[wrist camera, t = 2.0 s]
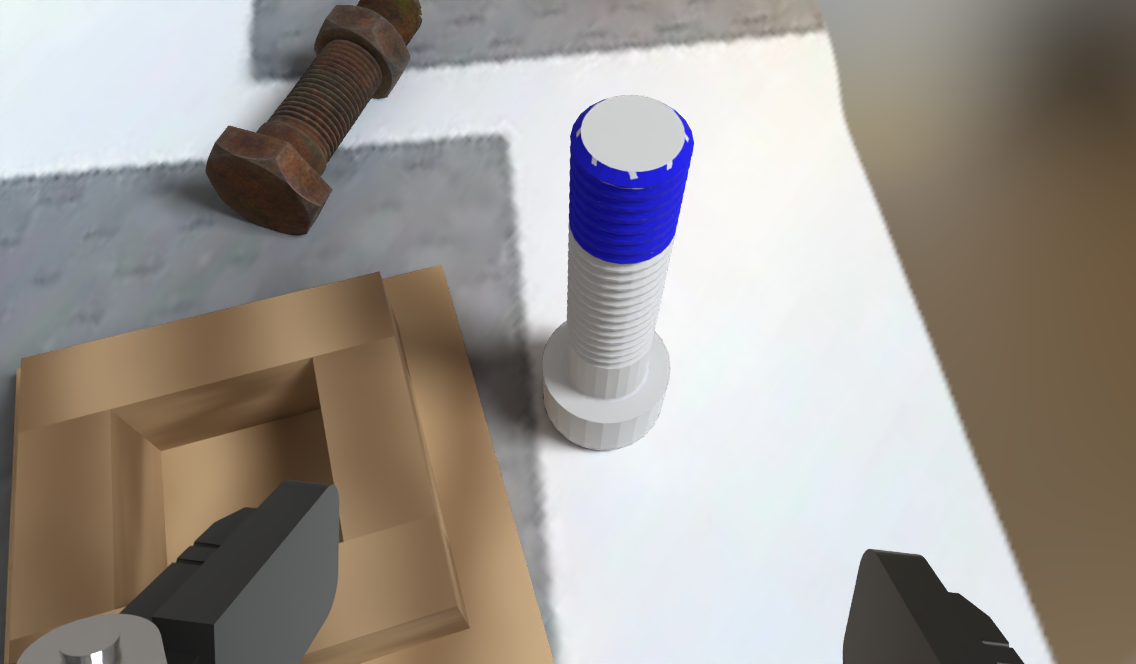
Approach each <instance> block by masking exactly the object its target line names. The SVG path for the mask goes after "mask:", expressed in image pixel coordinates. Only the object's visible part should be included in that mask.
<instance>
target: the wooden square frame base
mask: <svg viewBox="0 0 1136 664" xmlns="http://www.w3.org/2000/svg"><path fill="white" fill-rule="evenodd" d="M285 480H297V481H305V482H314V483H323V484H331V485H335V486H336V487H337V490H338V493H339V556H338V583H337V589H336V594H335V598H334V602H333V605H332V608H331V610H330V613H329V615H328V617H327V619H326V621H325V622H324V624H323V625H322V627H321V629H320V630H319V632H318V634H317V635H316V637H315V638H314V640H313V642H312V643H311V645H310V647H309V648H308V650H307V652H306V653H305V655H304V656H303V658H302V660H301V661H300V663H299V664H554V660H553V657H552V653H551V650H550V646H549V643H548V639H547V636H546V632H545V629H544V625H543V621H542V618H541V614H540V611H539V607H538V604H537V600H536V597H535V593H534V590H533V586H532V582H531V579H530V575H529V572H528V568H527V565H526V561H525V558H524V554H523V551H522V547H521V543H520V540H519V536H518V533H517V529H516V526H515V522H514V519H513V515H512V512H511V508H510V504H509V501H508V497H507V494H506V490H505V487H504V483H503V480H502V476H501V473H500V469H499V466H498V462H497V458H496V455H495V451H494V448H493V444H492V441H491V437H490V434H489V430H488V427H487V423H486V419H485V416H484V412H483V409H482V405H481V402H480V398H479V395H478V391H477V388H476V384H475V380H474V377H473V373H472V370H471V366H470V363H469V359H468V356H467V352H466V349H465V345H464V341H463V338H462V334H461V331H460V327H459V324H458V320H457V317H456V313H455V310H454V306H453V303H452V299H451V295H450V292H449V288H448V285H447V281H446V278H445V274H444V271H443V267H442V265H438V266H434V267H430V268H426V269H422V270H418V271H414V272H410V273H406V274H401V275H397V276H393V277H389V278H385V279H382V278H381V275H380V272H375V273H371V274H367V275H363V276H359V277H355V278H351V279H347V280H342V281H338V282H334V283H330V284H326V285H322V286H318V287H314V288H310V289H305V290H301V291H297V292H293V293H289V294H285V295H281V296H277V297H273V298H269V299H264V300H260V301H256V302H252V303H248V304H244V305H240V306H236V307H232V308H227V309H223V310H219V311H215V312H211V313H207V314H203V315H199V316H195V317H190V318H186V319H182V320H178V321H174V322H170V323H166V324H162V325H158V326H153V327H149V328H145V329H141V330H137V331H133V332H129V333H125V334H121V335H116V336H112V337H108V338H104V339H100V340H96V341H92V342H88V343H84V344H79V345H75V346H71V347H67V348H63V349H59V350H55V351H51V352H47V353H42V354H38V355H34V356H30V357H26V358H22V359H21V368H18V369H17V375H16V398H15V420H14V443H13V466H12V489H11V511H10V534H9V557H8V579H7V602H6V625H5V648H4V664H13V663H17V662H18V660H19V658H20V656H21V655H22V654H23V652H24V651H25V650H26V649H27V648H28V647H29V646H30V645H31V644H32V643H33V642H35V641H36V640H38V639H39V638H40V637H42V636H43V635H45V634H47V633H49V632H50V631H52V630H54V629H56V628H58V627H61V626H63V625H65V624H68V623H71V622H73V621H76V620H80V619H84V618H87V617H92V616H98V615H106V614H119V613H120V612H121V611H122V610H123V609H124V608H125V607H126V606H127V605H128V604H129V603H130V602H131V601H133V600H134V599H135V598H136V597H137V596H138V595H139V594H140V593H141V592H142V591H143V590H144V589H145V588H146V587H147V586H148V585H149V584H150V583H151V582H152V581H153V580H154V579H156V578H157V577H158V576H159V575H160V574H161V573H162V572H163V571H164V570H165V569H166V568H167V567H168V566H169V565H170V564H171V563H172V562H174V563H176V561H177V557H179V556H180V555H181V554H182V553H183V552H184V551H185V550H186V549H187V548H188V547H189V546H193V544H194V541H195V540H196V539H197V538H198V537H199V536H200V535H202V534H203V533H204V532H205V531H206V530H207V529H208V528H209V527H210V526H211V525H212V524H213V523H214V522H216V521H218V520H220V519H222V518H224V517H226V516H228V515H230V514H232V513H234V512H236V511H238V510H240V509H242V508H244V507H250V508H258V507H259V506H260V505H261V503H262V502H263V501H264V500H265V499H266V498H267V497H268V496H269V495H270V494H271V493H272V492H273V491H274V490H275V489H276V488H277V487H278V486H279V485H280V484H281V483H282V482H283V481H285Z"/></svg>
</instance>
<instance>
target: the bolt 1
mask: <svg viewBox="0 0 1136 664" xmlns="http://www.w3.org/2000/svg"><path fill="white" fill-rule="evenodd" d="M420 9H421V6H420V3H419V1H418V0H360V1H359V3H358V5H357V6H353V5H336V6H335V7H334V9H333V10H332V11H331V12H330V14H329V15H328V16H327V17H326V19H325V21H324V23H323V25H322V27H321V29H320V31H319V34H318V36H317V39H316V42H315V47H314V50H315V52H316V54H317V57H316V59H315V60H314V61H313V63H312V64H311V65H310V67H309V68H308V69H307V71H306V72H305V73H304V74H303V76H302V77H301V78H300V80H299V81H298V82H297V84H296V85H295V87H294V88H293V89H292V91H291V92H290V93H289V95H288V96H287V97H286V99H285V100H284V101H283V102H282V103H281V105H280V106H279V107H278V108H277V110H276V111H275V113H274V114H273V115H272V116H271V117H270V119H269V120H268V121H267V123H264V124H263V125H262V126H261V127H260V128H259V130H258V131H257V132H256V133H255V132H251V131H248V130H244V129H240V128H237V127H233V126H228V127H227V128H226V129H225V131H224V132H223V133H222V135H221V136H220V137H219V138H218V140H217V141H216V142H215V144H214V146H213V148H212V151H211V153H210V155H209V158H208V161H207V165H206V174H207V176H208V178H209V180H210V182H211V183H212V185H213V187H214V189H215V190H216V192H217V193H218V195H219V196H220V198H221V199H222V200H223V201H224V202H225V203H226V204H227V205H229V206H230V207H231V208H232V209H234V210H235V211H237V212H238V213H240V214H241V215H243V216H245V217H246V218H248V219H249V220H251V221H253V222H255V223H256V224H258V225H260V226H262V227H264V228H268V229H271V230H274V231H277V232H281V233H286V234H307V232H308V231H309V229H310V228H311V226H312V225H313V223H314V222H315V220H316V219H317V217H318V215H319V213H320V212H321V210H322V208H323V206H324V204H325V202H326V200H327V199H328V197H329V195H330V193H331V191H332V189H331V187H330V186H329V185H328V184H327V183H326V182H325V181H324V180H323V179H322V178H321V175H322V174H323V172H324V171H325V168H326V164H327V162H329V160H330V158H331V157H332V155H333V153H334V152H335V151H336V149H337V148H338V146H339V145H340V143H341V142H342V141H343V139H344V137H345V136H346V134H347V133H348V132H349V130H350V129H351V127H352V126H353V125H354V123H355V121H356V120H357V118H358V117H359V116H360V114H361V112H362V111H363V109H364V108H365V107H366V105H367V103H368V102H369V101H370V99H371V98H385V97H388V95H389V94H390V92H391V91H392V89H393V88H394V86H395V85H396V83H397V81H398V80H399V78H400V76H401V75H402V73H403V71H404V69H405V67H406V66H407V64H408V62H409V60H410V55H409V52H408V50H407V47H406V46H407V44H408V43H409V42H410V40H411V39H412V37H413V35H414V34H415V33H416V32H417V30H418V29H419V27H420V26H421V23H422V19H421V17H420V16H419V15H422V13H421V10H420Z"/></svg>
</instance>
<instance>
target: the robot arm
mask: <svg viewBox="0 0 1136 664" xmlns="http://www.w3.org/2000/svg"><path fill="white" fill-rule="evenodd" d="M338 556H339V493H338V490H337V487H336V486H335V485H331V484H323V483H314V482H305V481H297V480H285V481H283V482H282V483H281V484H280V485H279V486H278V487H277V488H276V489H275V490H274V491H273V492H272V493H271V494H270V495H269V496H268V497H267V498H266V499H265V500H264V501H263V502H262V503H261V505H260V506H259V507H258V508H250V507H244V508H242V509H240V510H238V511H236V512H234V513H232V514H230V515H228V516H226V517H224V518H222V519H220V520H218V521H216V522H214V523H213V524H212V525H211V526H210V527H209V528H208V529H207V530H206V531H205V532H204V533H203V534H202V535H200V536H199V537H198V538H197V539H196V540H195V541H194V544H193V546H189V547H188V548H187V549H186V550H185V551H184V552H183V553H182V554H181V555H180V556H179V557H177V561H176V563H174V562H172V563H171V564H170V565H169V566H168V567H167V568H166V569H165V570H164V571H163V572H162V573H161V574H160V575H159V576H158V577H157V578H156V579H154V580H153V581H152V582H151V583H150V584H149V585H148V586H147V587H146V588H145V589H144V590H143V591H142V592H141V593H140V594H139V595H138V596H137V597H136V598H135V599H134V600H133V601H131V602H130V603H129V604H128V605H127V606H126V607H125V608H124V609H123V610H122V611H121V612H120V613H119V614H106V615H98V616H92V617H87V618H84V619H80V620H76V621H73V622H71V623H68V624H65V625H63V626H61V627H58V628H56V629H54V630H52V631H50V632H49V633H47V634H45V635H43V636H42V637H40V638H39V639H38V640H36V641H35V642H33V643H32V644H31V645H30V646H29V647H28V648H27V649H26V650H25V651H24V652H23V654H22V655H21V656H20V658H19V660H18V662H17V663H13V664H299V663H300V661H301V660H302V658H303V656H304V655H305V653H306V652H307V650H308V648H309V647H310V645H311V643H312V642H313V640H314V638H315V637H316V635H317V634H318V632H319V630H320V629H321V627H322V625H323V624H324V622H325V621H326V619H327V617H328V615H329V613H330V610H331V608H332V605H333V602H334V598H335V594H336V589H337V583H338ZM843 664H1024V663H1023V661H1022V660H1021V658H1020V657H1019V656H1018V654H1017V653H1016V652H1015V650H1014V649H1013V648H1009V642H1008V641H1007V640H1006V638H1005V637H1004V636H1003V634H1002V633H1001V631H1000V630H999V629H998V627H997V626H996V625H995V623H994V622H993V621H992V619H991V618H990V617H989V616H988V615H986V614H985V613H984V612H983V611H981V610H980V609H979V608H977V607H976V606H975V605H973V604H972V603H971V602H970V601H968V600H967V599H966V598H964V597H963V596H962V595H960V594H959V593H951V592H948V591H947V590H946V588H945V587H944V585H943V584H942V583H941V581H940V580H939V578H938V577H937V575H936V574H935V572H934V571H933V569H932V568H931V567H930V565H929V564H928V562H927V561H926V559H925V558H924V557H923V556H921V555H918V554H909V553H901V552H892V551H884V550H875V549H868V550H866V551H865V553H864V554H863V556H862V559H861V562H860V566H859V570H858V575H857V580H856V585H855V589H854V594H853V599H852V603H851V608H850V613H849V618H848V622H847V627H846V632H845V637H844V643H843Z"/></svg>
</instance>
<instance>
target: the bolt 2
mask: <svg viewBox="0 0 1136 664" xmlns="http://www.w3.org/2000/svg"><path fill="white" fill-rule="evenodd" d="M570 138H571V146H570V153H571V157H570V184H569V185H570V193H569V199H570V203H569V243H568V247H569V251H568V258H569V259H568V293H567V296H568V300H567V305H568V306H567V321H566V322H564V323H563V324H562V325H561V326H560V327H558V328H557V329H556V330H555V332H554V333H553V334H552V336H551V337H550V338H549V340H548V342H547V344H546V346H545V349H544V354H543V359H542V372H543V399H544V405H545V409H546V412H547V415H548V417H549V419H550V421H551V422H552V424H553V425H554V427H555V428H556V429H557V430H558V431H559V432H560V433H561V434H562V435H563V436H564V437H565V438H567V439H568V440H570V441H571V442H573V443H575V444H577V445H579V446H582V447H586V448H589V449H594V450H604V451H605V450H614V449H620V448H623V447H626V446H628V445H631V444H633V443H635V442H636V441H638V440H639V439H641V438H642V437H644V436H645V435H646V434H647V432H648V431H649V430H650V429H651V428H652V427H653V426H654V424H655V422H656V420H657V418H658V416H659V414H660V411H661V407H662V404H663V400H664V397H665V393H666V389H667V386H668V381H669V377H670V360H669V355H668V352H667V349H666V346H665V345H664V343H663V341H662V339H661V338H660V336H659V335H658V334H657V333H656V332H655V331H654V330H655V325H656V321H657V316H658V311H659V307H660V302H661V297H662V293H663V288H664V283H665V279H666V273H667V270H668V264H669V260H670V254H671V251H672V245H673V242H674V235H675V232H676V226H677V223H678V217H679V214H680V208H681V204H682V199H683V193H684V190H685V184H686V180H687V176H688V169H689V167H690V161H691V156H692V153H693V146H694V141H693V136H692V131H691V129H690V128H689V126H688V124H687V122H686V121H685V119H684V118H683V117H682V116H681V115H680V114H679V113H678V112H676V111H675V110H674V109H672V108H671V107H669V106H667V105H666V104H664V103H662V102H660V101H657V100H655V99H652V98H649V97H645V96H638V95H622V96H616V97H612V98H609V99H605V100H602V101H600V102H598V103H596V104H594V105H592V106H590V107H589V108H587V109H586V110H585V111H584V112H583V113H581V114H580V116H579V117H578V119H577V120H576V122H575V123H574V125H573V128H572V132H571V136H570Z"/></svg>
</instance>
